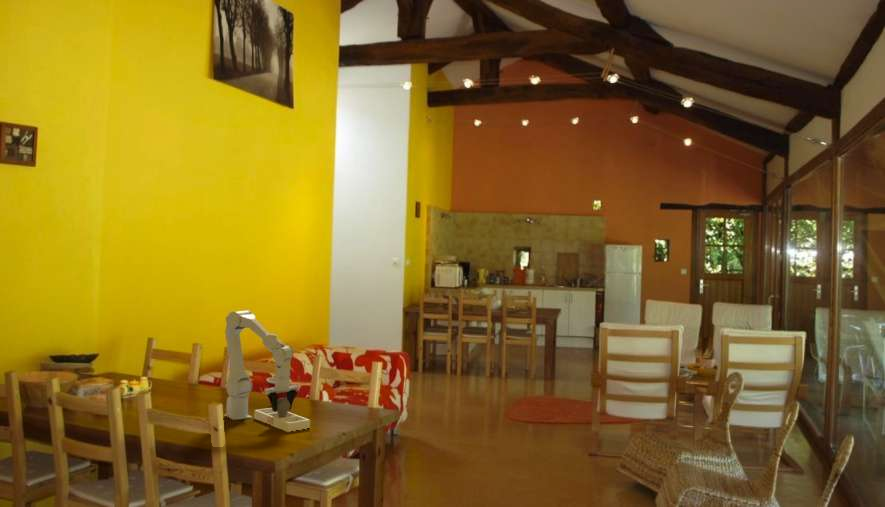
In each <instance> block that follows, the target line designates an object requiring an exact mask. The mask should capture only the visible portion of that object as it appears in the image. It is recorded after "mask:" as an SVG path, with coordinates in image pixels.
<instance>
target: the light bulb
mask: <svg viewBox="0 0 885 507" xmlns="http://www.w3.org/2000/svg"><path fill="white" fill-rule="evenodd" d="M289 409H290V402H289V401H288V400H287V398H286V399H285V398H280V399H278V401H277V413H278V416H279V418H282V417H286V415H287V412H289Z"/></svg>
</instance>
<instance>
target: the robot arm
mask: <svg viewBox="0 0 885 507" xmlns="http://www.w3.org/2000/svg"><path fill="white" fill-rule="evenodd" d="M225 323H226V326H225V330H224V331H225V333H224V334H225V341H226V346H227V355H228V359H229V367H230V375H229V377H228V378H227V379H226V380H227V383H226V384H227V385H226V392H227V394H228V397H227V399H226V407H225V408H226V411H225V413H226V414H223V415H224V417H226V416H227V417H226V418H228V417H229V419H230V420H232V421H237V420H244V419H251V418H252V417H253V416H252V415H250V414H249V395H250V392H252V390H253V382H252V380H251V379H250V375H249V374H248V373H247V372H246V370H245V364H244V363H245V362H244V357H243V349H242V343H241V337H240V336H241V333H242V332H243V330H244V329H250V330H251V331H252V332H253V333H254V334H255V335H256V336H258V337H259V338H260V339H261V340H262V345H263V346H264V347H265V348H266V349H267V350H268V351H269V352H270V353H271V354H272V357H273V360H274V364H275V376H274V377H275V387H272V388H269V387H268V388H265V389H264V395H266V396H267V397H268V399H269V402H270V405H271V408H272V410H273V411H274V412H277V401H278V395H277V394H276V393H280V392H286V396H287V398H286V399H287V400H288V401H289V402H290V409H289V410H290V411H291V410H292V408H293V407H292V406H293V404H294V400H295V399H296V397H297V395H298V391H299V392H300V385H297V384H296V385H295V384H294V385H291V382H290V379H291V359H292V358H293V357H294V350H293V348H292V347H291V346H290V345H286V344H285V343H284V342H282V341H281V340H280V339H279V337H278V335H277V334H275V333H269V331H267V330H266V328H264V327H263V325H262V324H261V323H260V322H259V321H258V320H257V318H256V315H255V314H254V313H252V312H251V310H248V309H246V310H239V311H230V312H229V313H228V315H227V316H226V317H225ZM289 410H288V411H289Z"/></svg>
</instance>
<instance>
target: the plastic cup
mask: <svg viewBox="0 0 885 507" xmlns="http://www.w3.org/2000/svg"><path fill="white" fill-rule="evenodd" d="M266 382H267V386H268V388H272V387H275V376H273V377H267V378H266ZM290 383H292V379H291V378H290ZM276 394H277V395H278V399H280V398H285V399H287V396H286V392H280V393H276Z"/></svg>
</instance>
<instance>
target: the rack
mask: <svg viewBox="0 0 885 507" xmlns="http://www.w3.org/2000/svg"><path fill="white" fill-rule="evenodd" d="M253 416H254V420H257V421H259V422H262V423H265V424H266V423H267V425H269V424H270V426H272V427H274V428H277V429H279V430H281V429H282V431H284V432H286V433H292V432H291V431H293V432H297V431H296V430H299V431H303V430H302V429H305V430H308V429H307V428H310V427H311V426H310V424H311V420H310V419H309V418H306V417H303V416H301V415H298V414H295V413H292V412H290V411H288V412H287V415H286V417H282V418H279V416H278V413H277V412H274V411H273V410H272V407H268V408H260V409H255V410H254V415H253ZM310 429H311V428H310Z"/></svg>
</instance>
